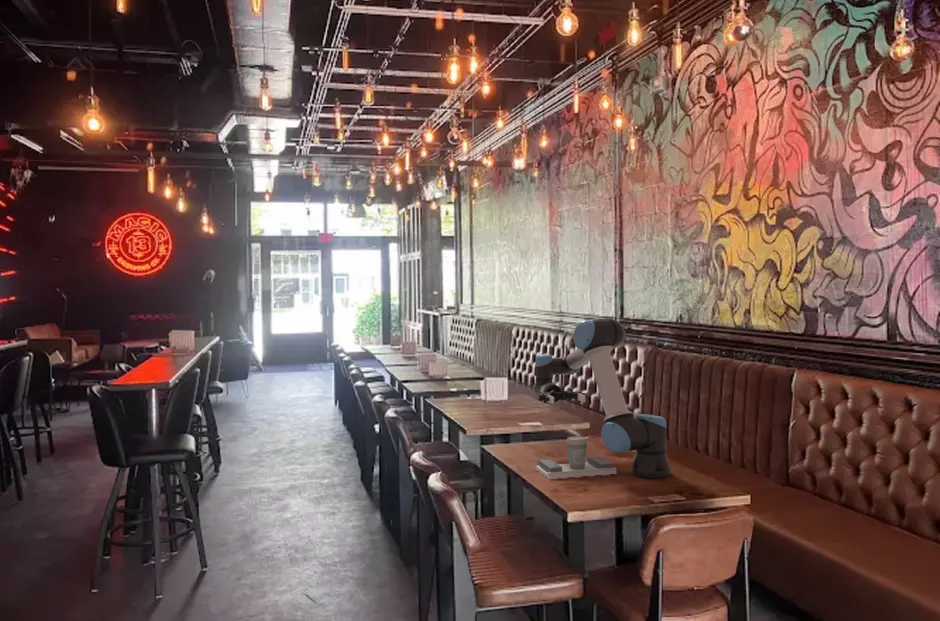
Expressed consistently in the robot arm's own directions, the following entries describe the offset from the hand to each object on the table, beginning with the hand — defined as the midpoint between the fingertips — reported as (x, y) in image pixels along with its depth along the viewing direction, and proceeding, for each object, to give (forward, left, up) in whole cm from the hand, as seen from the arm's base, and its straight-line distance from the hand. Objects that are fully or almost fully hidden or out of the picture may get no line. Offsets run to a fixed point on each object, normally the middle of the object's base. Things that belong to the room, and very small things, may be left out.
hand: (569, 399), depth 298 cm
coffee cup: (-5, +4, -27) cm, 27 cm away
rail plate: (-5, +5, -28) cm, 29 cm away
